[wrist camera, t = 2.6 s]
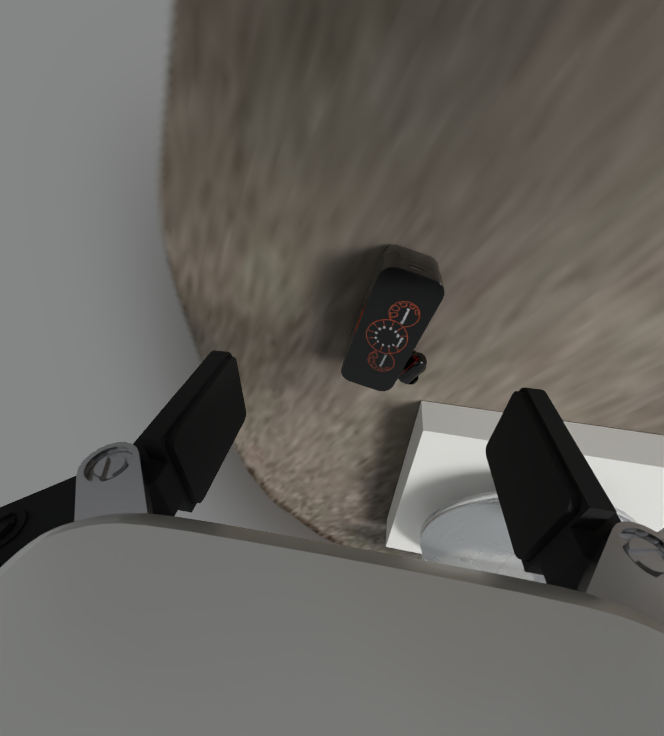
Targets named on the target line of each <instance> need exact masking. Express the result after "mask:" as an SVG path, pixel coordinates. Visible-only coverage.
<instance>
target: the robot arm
mask: <svg viewBox="0 0 664 736" xmlns="http://www.w3.org/2000/svg"><path fill="white" fill-rule="evenodd" d="M245 417H246V409H245V403H244V398H243V393H242V387H241V382H240V377H239V372H238V366H237V361H236V358H235V357H232V355H231V353H229V352H223V351H212V352H211V353H210V354H209V355H208V356H207V357H206V358H205V360H204V361H203V362H202V363H201V364H200V366H199V367H198V368H197V369H196V370H195V372H194V373H193V374H192V375H191V376H190V378H189V379H188V380H187V381H186V382H185V384H184V385H183V386H182V387H181V388H180V389H179V390H178V391H177V393H176V394H175V395H174V396H173V397H172V399H171V400H170V401H169V402H168V403H167V405H166V406H165V407H164V408H163V409H162V410H161V412H160V413H159V414H158V415H157V416H156V418H155V419H154V420H153V421H152V422H151V424H150V425H149V426H148V427H147V428H146V430H145V431H144V432H143V433H142V434H141V435H140V436H139V438H138V439H137V440H136V441H135V442H134V444H131V443H127V442H117V443H113V444H109V445H106V446H104V447H101V448H99V449H97V450H96V451H95V452H93V453H91V454H90V455H89V456H88V457H87V458H86V459H85V460H84V461H83V462H82V463H81V465H80V466H79V468H78V471H77V475H76V476H75V477H72V478H70V479H68V480H65V481H63V482H60V483H58V484H56V485H53V486H51V487H49V488H46V489H44V490H41V491H39V492H36V493H34V494H31V495H29V496H27V497H24V498H22V499H20V500H17V501H15V502H12V503H10V504H7V505H5V506H3V507H0V736H664V537H663V536H662V535H660V534H659V533H658V532H656V531H654V530H652V529H650V528H648V527H646V526H644V525H641V524H638V523H635V522H627V521H623V522H621V520H620V518H619V517H618V515H617V513H616V512H617V511H616V509H615V508H614V506H613V504H612V503H611V501H610V499H609V498H608V496H607V494H606V493H605V491H604V489H603V488H602V486H601V484H600V483H599V481H598V479H597V478H596V476H595V474H594V472H593V471H592V469H591V467H590V466H589V464H588V462H587V461H586V459H585V457H584V456H583V454H582V452H581V451H580V449H579V447H578V446H577V444H576V442H575V441H574V439H573V437H572V436H571V434H570V432H569V430H568V429H567V427H566V425H565V424H564V422H563V420H562V419H561V417H560V415H559V414H558V412H557V410H556V409H555V407H554V405H553V404H552V402H551V400H550V399H549V397H548V395H547V394H546V392H545V391H544V390H540V389H531V388H521V389H520V390H519V391H515V392H514V393H513V394H512V396H511V398H510V400H509V402H508V404H507V406H506V408H505V410H504V412H503V414H502V416H501V418H500V420H499V422H498V424H497V426H496V428H495V429H494V431H493V433H492V435H491V437H490V439H489V441H488V443H487V445H486V458H487V461H488V464H489V468H490V471H491V475H492V478H493V482H494V485H495V489H496V492H497V495H498V499H499V502H500V506H501V509H502V513H503V516H504V520H505V523H506V526H507V530H508V533H509V537H510V540H511V544H512V547H513V550H514V553H515V555H516V557H517V558H518V559H521V561H522V564H523V567H524V571H525V572H529V573H534V574H540V575H544V578H545V581H546V583H547V584H545V583H540V582H535V581H530V580H525V579H520V578H515V577H511V576H506V575H501V574H496V573H490V572H485V571H479V570H474V569H469V568H463V567H458V566H453V565H447V564H442V563H436V562H431V561H426V560H420V559H415V558H409V557H404V556H398V555H393V554H387V553H382V552H376V551H371V550H365V549H360V548H354V547H349V546H343V545H338V544H332V543H326V542H321V541H315V540H309V539H304V538H299V537H293V536H287V535H282V534H276V533H270V532H264V531H259V530H253V529H247V528H242V527H236V526H230V525H225V524H219V523H212V522H206V521H200V520H192V519H187V518H181V517H174V516H175V514H176V512H177V510H181V511H187V512H192V511H193V509H194V507H195V505H196V504H197V503H201V502H202V500H203V499H204V497H205V495H206V494H207V492H208V490H209V488H210V486H211V484H212V482H213V480H214V478H215V476H216V474H217V472H218V471H219V469H220V466H221V465H222V463H223V461H224V459H225V457H226V455H227V453H228V451H229V449H230V447H231V446H232V444H233V442H234V440H235V438H236V436H237V434H238V432H239V430H240V428H241V426H242V424H243V422H244V420H245Z"/></svg>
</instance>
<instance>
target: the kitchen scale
mask: <svg viewBox="0 0 664 736" xmlns="http://www.w3.org/2000/svg"><path fill="white" fill-rule="evenodd" d="M502 414H503V412H496V411H489V410H482V409H475V408H468V407H461V406H454V405H447V404H440V403H433V402H426V401H421V404H420V407H419V411H418V414H417V417H416V421H415V424H414V428H413V431H412V435H411V438H410V442H409V445H408V448H407V452H406V455H405V459H404V462H403V466H402V469H401V473H400V476H399V479H398V483H397V486H396V490H395V493H394V497H393V500H392V503H391V507H390V510H389V514H388V517H387V529H386V547H390V548H395V549H400V550H405V551H410V552H415V553H420V554H421V560H426V561H431V562H436V563H442V564H447V565H453V566H458V567H463V568H469V569H474V570H479V571H485V572H490V573H496V574H501V575H506V576H511V577H515V578H520V579H525V580H530V581H535V582H540V583H545V584H547V583H546V581H545V578H544V575H540V574H534V573H529V572H525V571H524V567H523V564H522V561H521V559H518V558H517V557H516V555H515V553H514V550H513V547H512V544H511V540H510V537H509V533H508V530H507V526H506V523H505V520H504V516H503V513H502V509H501V506H500V502H499V499H498V495H497V492H496V489H495V485H494V482H493V478H492V475H491V471H490V468H489V464H488V461H487V458H486V445H487V443H488V441H489V439H490V437H491V435H492V433H493V431H494V429H495V428H496V426H497V424H498V422H499V420H500V418H501V416H502ZM563 422H564V424H565V425H566V427H567V429H568V430H569V432H570V434H571V436H572V437H573V439H574V441H575V442H576V444H577V446H578V447H579V449H580V451H581V452H582V454H583V456H584V457H585V459H586V461H587V462H588V464H589V466H590V467H591V469H592V471H593V472H594V474H595V476H596V478H597V479H598V481H599V483H600V484H601V486H602V488H603V489H604V491H605V493H606V494H607V496H608V498H609V499H610V501H611V503H612V504H613V506H614V508H615V509H616V511H617V512H616V513H617V515H618V517H619V518H620V520H621V522H623V521H627V522H635V523H638V524H641V525H644V526H646V527H648V528H650V529H652V530H654V531H656V532H658V531H659V530H661V529H663V528H664V435H657V434H650V433H643V432H636V431H629V430H622V429H615V428H608V427H601V426H594V425H587V424H580V423H573V422H566V421H563Z"/></svg>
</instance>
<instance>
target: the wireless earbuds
mask: <svg viewBox="0 0 664 736" xmlns="http://www.w3.org/2000/svg"><path fill="white" fill-rule="evenodd" d="M443 296H444V287H443V283H442V278H441V274H440V270H439V266H438V263H437V262H436V261H435V259H434V258H432V257H430V256H427V255H424V254H422V253H419V252H416V251H413V250H410V249H407V248H405V247H402V246H398V245H392V246H389V247H387V248H386V249H385V250H384V251H383V253H382V255H381V257H380V260H379V263H378V265H377V268H376V270H375V273H374V276H373V278H372V281H371V283H370V286H369V289H368V291H367V294H366V296H365V299H364V302H363V304H362V307H361V310H360V312H359V315H358V317H357V320H356V323H355V325H354V328H353V330H352V333H351V336H350V338H349V341H348V345H347V349H346V353H345V357H344V361H343V365H342V369H341V373H342V375H343V377H344V378H345V379H346V380H349V381H351V382H354V383H357V384H360V385H363V386H366V387H369V388H372V389H375V390H378V391H386V390H389V389H391V388H392V387H393V385H394V384H395V382H396V380H397V378H398V379H399V380H400V381H401V382H403V383H405V384H414V383H416V382H417V380H418V375H420V374H421V373H422V372H423V371H424V370H425V368H426V364H427V360H426V357H425V356H424V355H423V354H422V353H419V352H417V353H412V352H413V350H414V348H415V347H416V345H417V343H418V341H419V340H420V338H421V336H422V334H423V333H424V331H425V329H426V327H427V326H428V324H429V322H430V320H431V318H432V317H433V315H434V313H435V311H436V310H437V308H438V306H439V304H440V303H441V301H442V299H443ZM413 382H414V383H413Z"/></svg>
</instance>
